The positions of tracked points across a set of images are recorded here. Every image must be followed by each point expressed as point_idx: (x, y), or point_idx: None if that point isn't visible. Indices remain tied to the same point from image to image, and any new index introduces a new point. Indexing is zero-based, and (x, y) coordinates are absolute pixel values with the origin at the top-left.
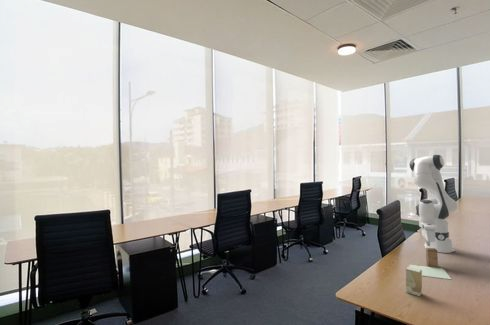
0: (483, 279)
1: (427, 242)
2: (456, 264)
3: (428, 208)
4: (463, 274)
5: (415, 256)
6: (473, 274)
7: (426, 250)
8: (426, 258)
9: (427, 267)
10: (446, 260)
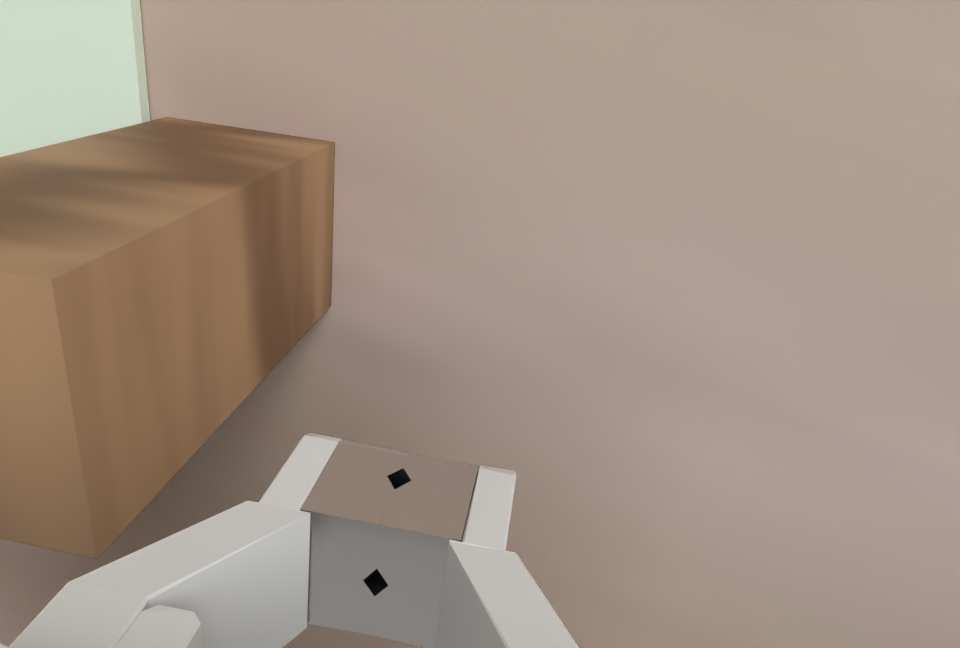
0: (4, 633)
1: (186, 543)
2: None
3: None
4: None
5: (931, 77)
6: None
7: (47, 231)
8: (249, 169)
9: (93, 79)
10: (680, 599)
